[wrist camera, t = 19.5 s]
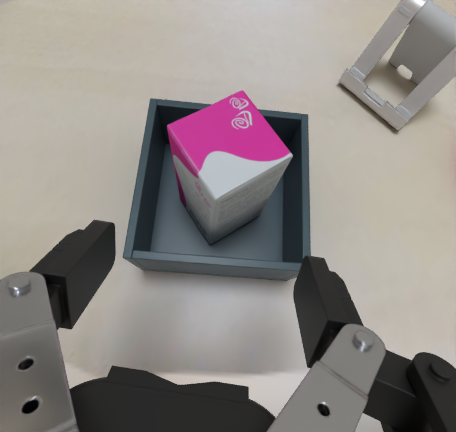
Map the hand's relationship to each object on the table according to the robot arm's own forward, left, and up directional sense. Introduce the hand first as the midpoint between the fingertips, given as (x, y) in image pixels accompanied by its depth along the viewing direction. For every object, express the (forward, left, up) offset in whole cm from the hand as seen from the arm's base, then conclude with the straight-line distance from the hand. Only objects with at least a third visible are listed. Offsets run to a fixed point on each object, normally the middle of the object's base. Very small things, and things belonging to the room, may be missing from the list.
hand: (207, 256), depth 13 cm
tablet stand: (+19, +23, -15) cm, 34 cm away
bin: (+1, +7, -15) cm, 17 cm away
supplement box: (+1, +7, -15) cm, 16 cm away
